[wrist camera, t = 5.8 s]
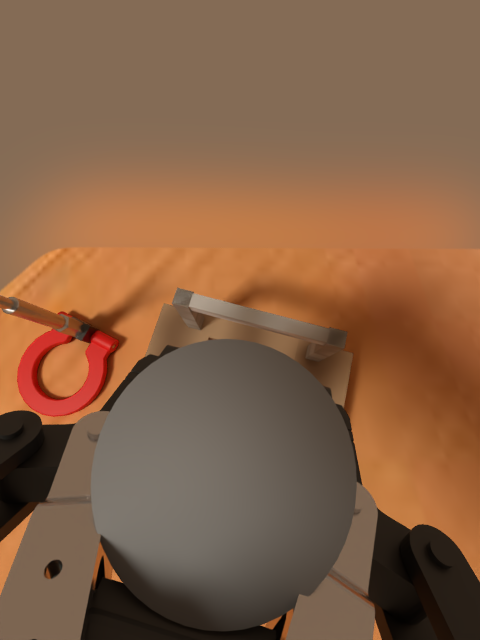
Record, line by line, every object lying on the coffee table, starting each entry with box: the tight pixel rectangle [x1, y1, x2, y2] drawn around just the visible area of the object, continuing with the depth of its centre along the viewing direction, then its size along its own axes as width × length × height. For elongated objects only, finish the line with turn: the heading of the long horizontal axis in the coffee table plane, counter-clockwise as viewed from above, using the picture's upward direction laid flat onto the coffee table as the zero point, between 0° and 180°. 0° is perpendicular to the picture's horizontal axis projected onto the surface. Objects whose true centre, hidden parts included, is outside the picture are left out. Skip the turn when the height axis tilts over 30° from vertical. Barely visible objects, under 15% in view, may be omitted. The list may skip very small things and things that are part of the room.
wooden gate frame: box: [145, 288, 353, 408], centre depth 24 cm, size 18×14×10 cm
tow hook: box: [0, 295, 119, 417], centre depth 24 cm, size 8×13×9 cm
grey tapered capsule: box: [91, 339, 357, 631], centre depth 11 cm, size 5×5×11 cm
